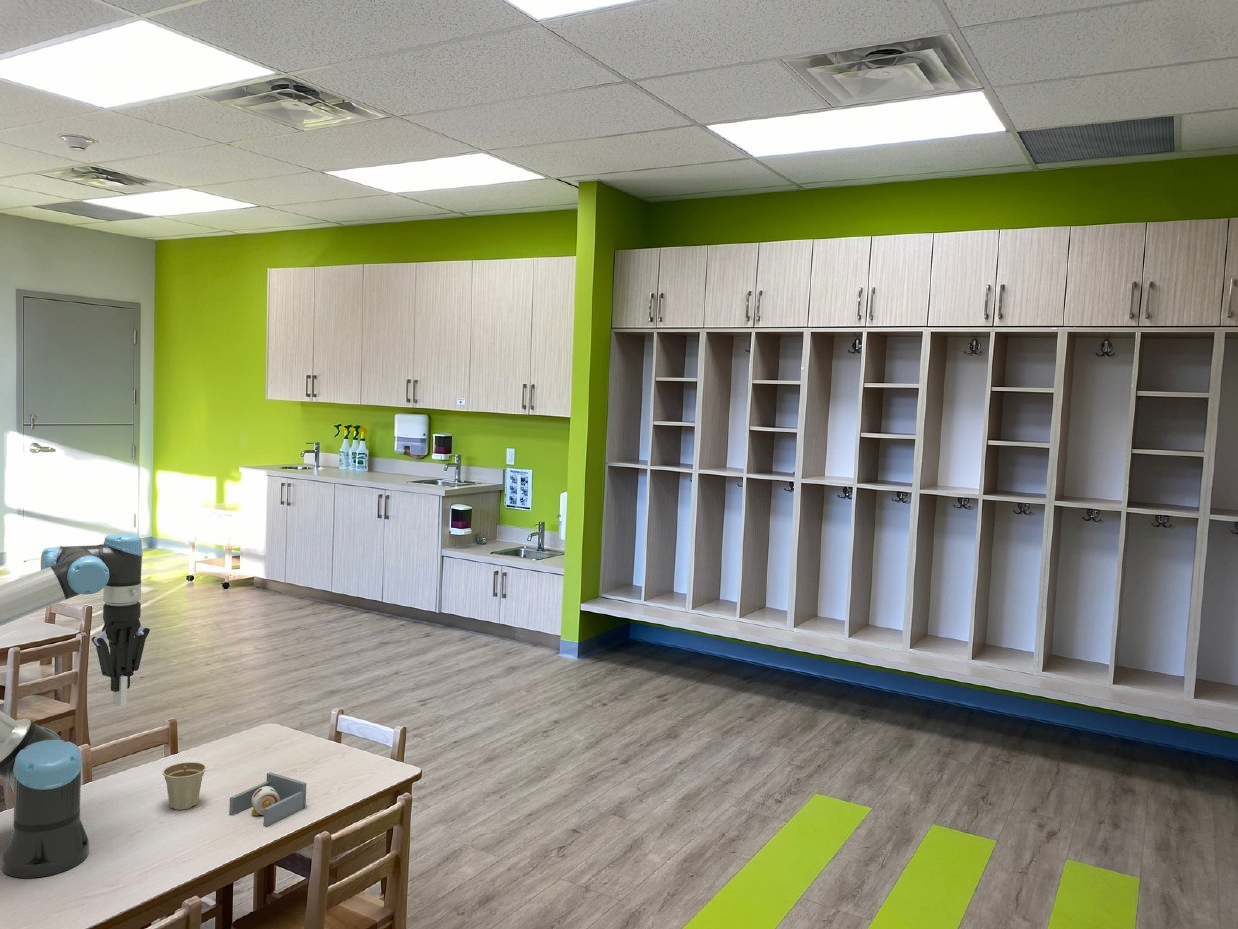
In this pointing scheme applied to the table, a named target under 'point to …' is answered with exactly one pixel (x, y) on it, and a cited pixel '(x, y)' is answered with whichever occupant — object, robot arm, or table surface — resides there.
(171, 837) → the table surface
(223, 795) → the table surface
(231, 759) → the table surface
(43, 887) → the table surface
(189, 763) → the flower pot
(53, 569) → the robot arm
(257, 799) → the roller toy
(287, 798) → the bin
